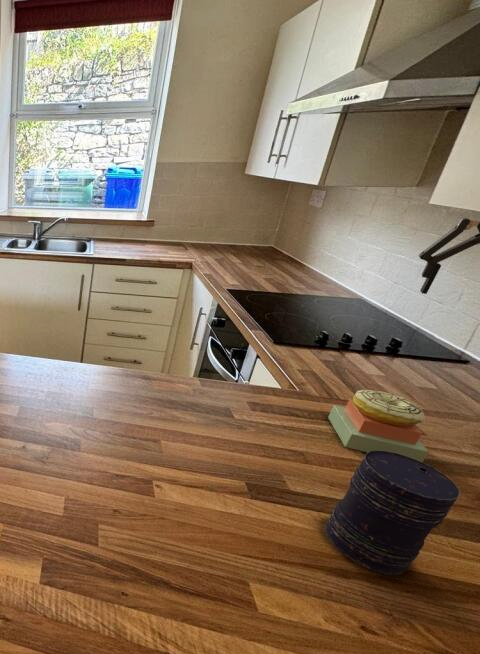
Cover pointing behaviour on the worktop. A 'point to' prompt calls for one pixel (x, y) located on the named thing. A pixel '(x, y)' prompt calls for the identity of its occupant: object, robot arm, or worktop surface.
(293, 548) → the worktop surface
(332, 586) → the worktop surface
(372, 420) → the stack top
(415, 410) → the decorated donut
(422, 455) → the stack base
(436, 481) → the dark blue cylinder
